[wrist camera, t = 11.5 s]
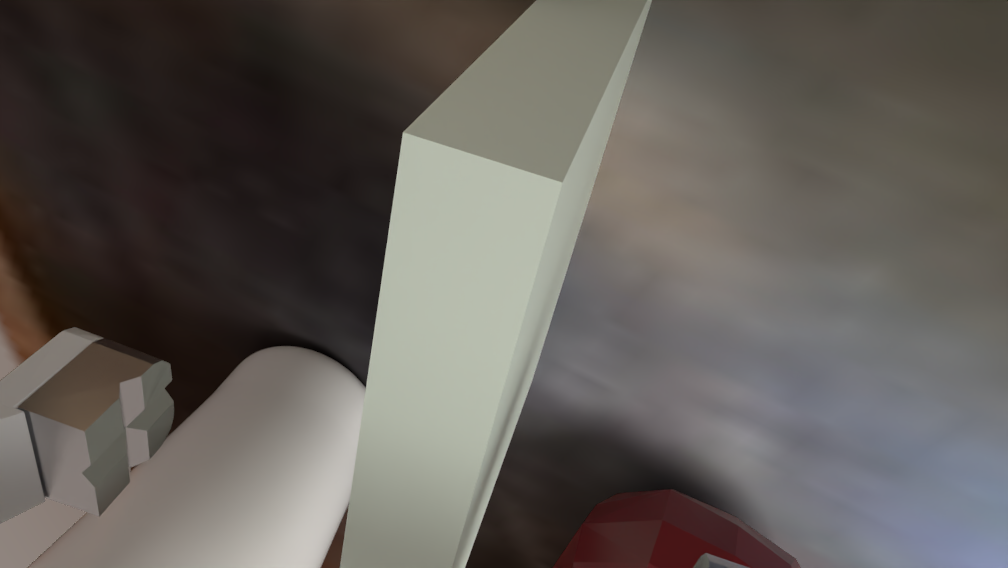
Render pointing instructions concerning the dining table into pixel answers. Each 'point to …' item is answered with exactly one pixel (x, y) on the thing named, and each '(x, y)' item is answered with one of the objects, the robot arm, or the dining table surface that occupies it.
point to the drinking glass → (237, 476)
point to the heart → (666, 535)
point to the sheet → (479, 273)
